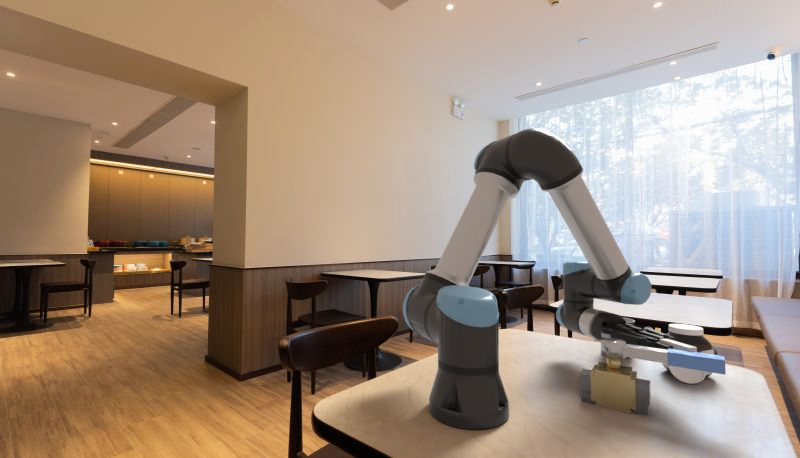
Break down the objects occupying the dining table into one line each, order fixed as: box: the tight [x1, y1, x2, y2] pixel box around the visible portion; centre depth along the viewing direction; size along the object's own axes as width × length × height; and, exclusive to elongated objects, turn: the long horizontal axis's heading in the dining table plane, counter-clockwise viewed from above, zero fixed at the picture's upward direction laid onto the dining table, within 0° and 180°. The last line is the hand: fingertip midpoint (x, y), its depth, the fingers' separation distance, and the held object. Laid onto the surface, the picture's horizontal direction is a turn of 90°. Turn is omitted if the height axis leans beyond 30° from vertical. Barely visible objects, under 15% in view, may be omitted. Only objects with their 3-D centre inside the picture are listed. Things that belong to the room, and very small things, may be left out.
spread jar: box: [661, 323, 715, 385], centre depth 89 cm, size 12×11×12 cm
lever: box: [600, 338, 726, 376], centre depth 70 cm, size 4×19×3 cm, turn 52°
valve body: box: [579, 357, 652, 417], centre depth 75 cm, size 12×6×9 cm, turn 54°
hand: (693, 354), depth 69 cm, fingers closed
